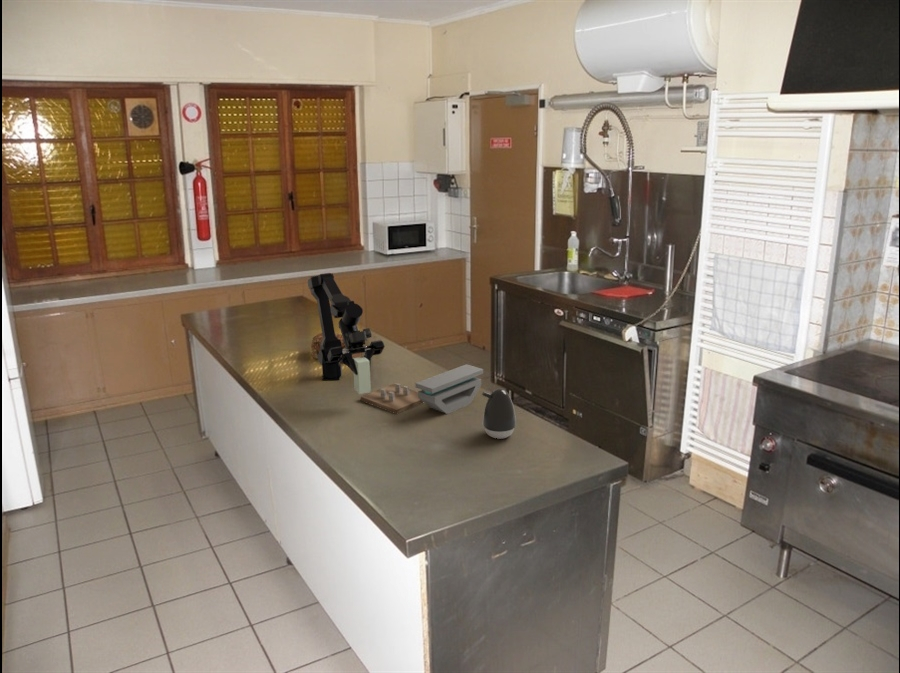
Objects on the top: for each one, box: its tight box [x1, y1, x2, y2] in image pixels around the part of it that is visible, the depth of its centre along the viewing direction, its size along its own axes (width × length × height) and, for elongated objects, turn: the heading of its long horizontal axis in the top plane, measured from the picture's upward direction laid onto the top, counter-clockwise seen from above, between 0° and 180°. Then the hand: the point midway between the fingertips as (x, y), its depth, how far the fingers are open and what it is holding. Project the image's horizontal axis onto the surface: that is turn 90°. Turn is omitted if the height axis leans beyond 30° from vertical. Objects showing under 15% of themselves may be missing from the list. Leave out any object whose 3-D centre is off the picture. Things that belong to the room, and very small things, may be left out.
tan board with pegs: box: [360, 382, 424, 415], centre depth 241 cm, size 16×18×4 cm
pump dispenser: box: [481, 388, 517, 440], centre depth 212 cm, size 10×10×15 cm
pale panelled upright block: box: [353, 356, 372, 395], centre depth 231 cm, size 4×6×11 cm
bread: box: [310, 332, 363, 360], centre depth 284 cm, size 19×11×10 cm, turn 68°
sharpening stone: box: [414, 363, 484, 415], centre depth 235 cm, size 25×8×11 cm, turn 137°
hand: (363, 373), depth 230 cm, fingers closed on pale panelled upright block, 4 cm apart
